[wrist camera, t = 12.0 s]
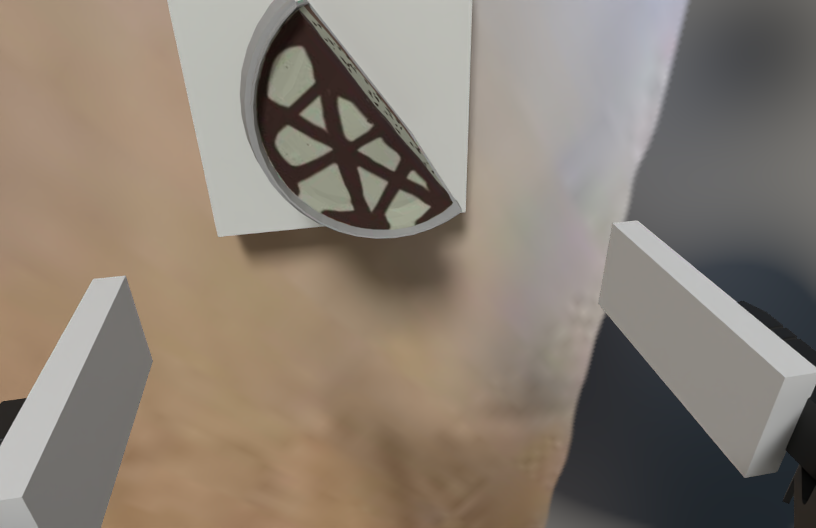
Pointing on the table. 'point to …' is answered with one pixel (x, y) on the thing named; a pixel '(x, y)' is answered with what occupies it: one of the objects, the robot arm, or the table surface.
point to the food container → (333, 133)
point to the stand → (375, 54)
